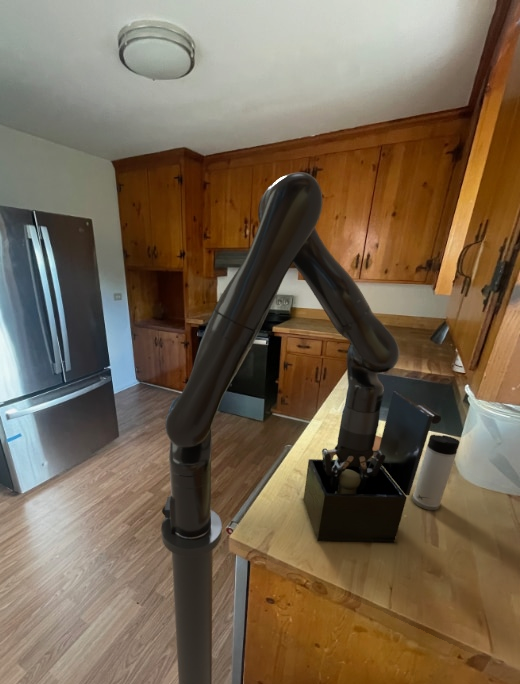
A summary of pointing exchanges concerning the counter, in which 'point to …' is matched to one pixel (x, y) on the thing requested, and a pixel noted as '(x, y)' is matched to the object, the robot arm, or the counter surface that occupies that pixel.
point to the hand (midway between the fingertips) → (346, 488)
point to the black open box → (353, 507)
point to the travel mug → (435, 471)
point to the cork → (348, 482)
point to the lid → (405, 439)
